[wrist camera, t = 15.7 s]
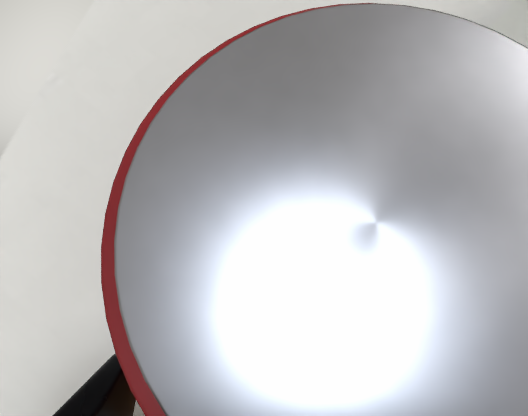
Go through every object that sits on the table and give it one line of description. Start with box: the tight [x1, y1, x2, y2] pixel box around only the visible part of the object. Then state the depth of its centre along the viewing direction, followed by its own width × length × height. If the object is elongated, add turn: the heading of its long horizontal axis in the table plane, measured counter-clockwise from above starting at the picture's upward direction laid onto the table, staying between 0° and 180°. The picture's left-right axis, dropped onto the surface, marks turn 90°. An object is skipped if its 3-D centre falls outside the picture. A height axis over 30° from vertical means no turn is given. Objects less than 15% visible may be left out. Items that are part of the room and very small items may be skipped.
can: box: [101, 3, 528, 416], centre depth 10 cm, size 6×6×13 cm
